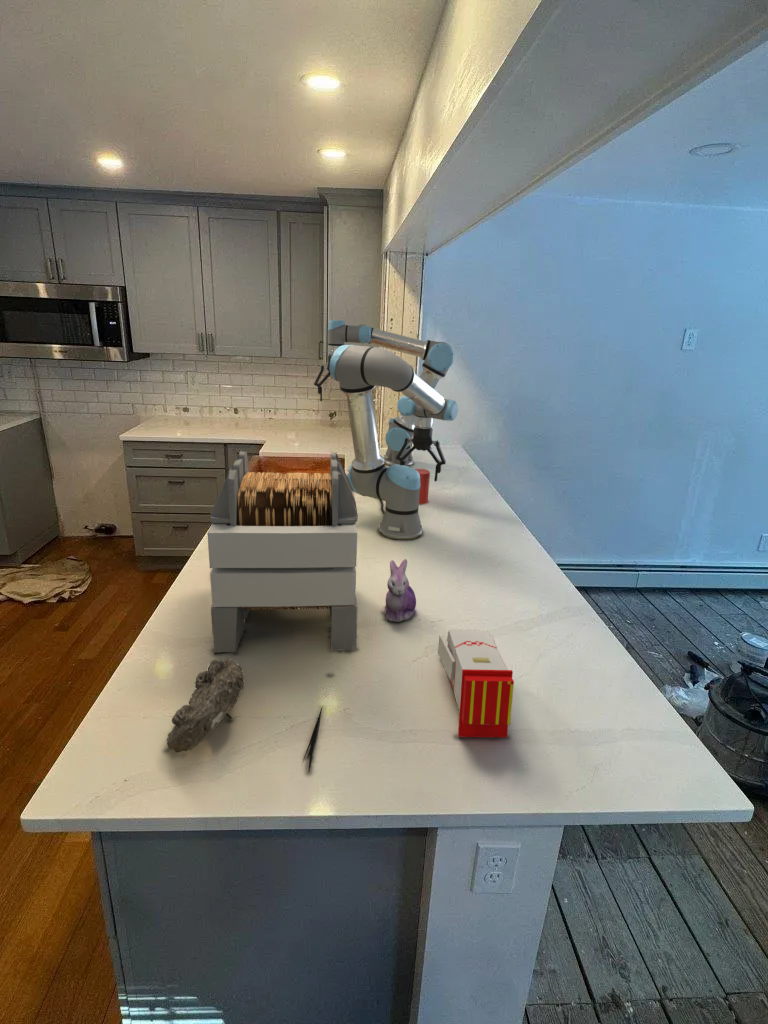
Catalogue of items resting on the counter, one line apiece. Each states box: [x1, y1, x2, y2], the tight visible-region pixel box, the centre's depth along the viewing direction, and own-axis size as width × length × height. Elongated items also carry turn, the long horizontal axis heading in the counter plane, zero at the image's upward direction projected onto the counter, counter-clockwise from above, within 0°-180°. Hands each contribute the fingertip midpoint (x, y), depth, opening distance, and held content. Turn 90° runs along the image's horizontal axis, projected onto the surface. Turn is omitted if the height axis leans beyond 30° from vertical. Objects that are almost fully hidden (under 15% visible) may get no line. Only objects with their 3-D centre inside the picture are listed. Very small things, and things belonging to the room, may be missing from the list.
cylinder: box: [414, 468, 431, 505], centre depth 233 cm, size 8×8×13 cm
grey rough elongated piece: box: [166, 658, 245, 754], centre depth 106 cm, size 22×10×15 cm
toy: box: [437, 628, 515, 738], centre depth 117 cm, size 12×13×30 cm
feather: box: [301, 673, 332, 771], centre depth 108 cm, size 2×28×2 cm
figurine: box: [384, 558, 417, 623], centre depth 145 cm, size 9×10×15 cm
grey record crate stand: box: [206, 450, 359, 654], centre depth 137 cm, size 34×33×41 cm
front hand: (419, 478), depth 232 cm, fingers open, 13 cm apart
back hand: (335, 401), depth 270 cm, fingers open, 13 cm apart
